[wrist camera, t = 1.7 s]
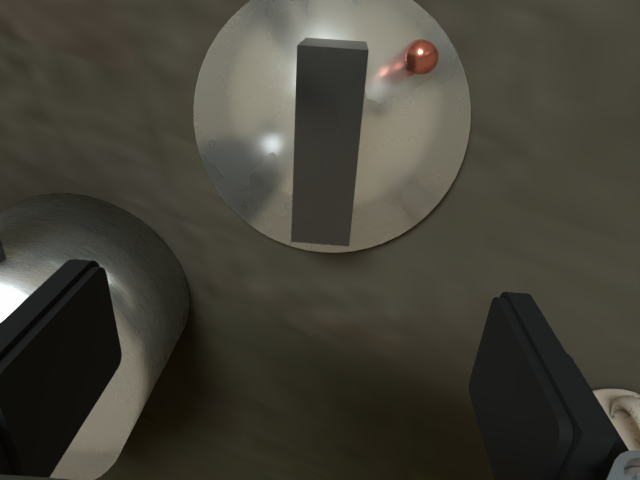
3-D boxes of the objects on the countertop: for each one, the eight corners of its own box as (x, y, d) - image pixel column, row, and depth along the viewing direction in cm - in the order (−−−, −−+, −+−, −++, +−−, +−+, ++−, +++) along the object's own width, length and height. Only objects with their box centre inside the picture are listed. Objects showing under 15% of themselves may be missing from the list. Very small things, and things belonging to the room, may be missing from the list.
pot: (-60, 128, 29) (-269, 194, 19) (175, 145, 28) (83, 222, 19) (27, 389, 39) (-79, 516, 30) (199, 404, 39) (149, 539, 29)
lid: (189, -35, 24) (147, -43, 19) (495, -15, 24) (532, -19, 19) (207, 234, 32) (180, 278, 27) (439, 253, 31) (455, 301, 26)
